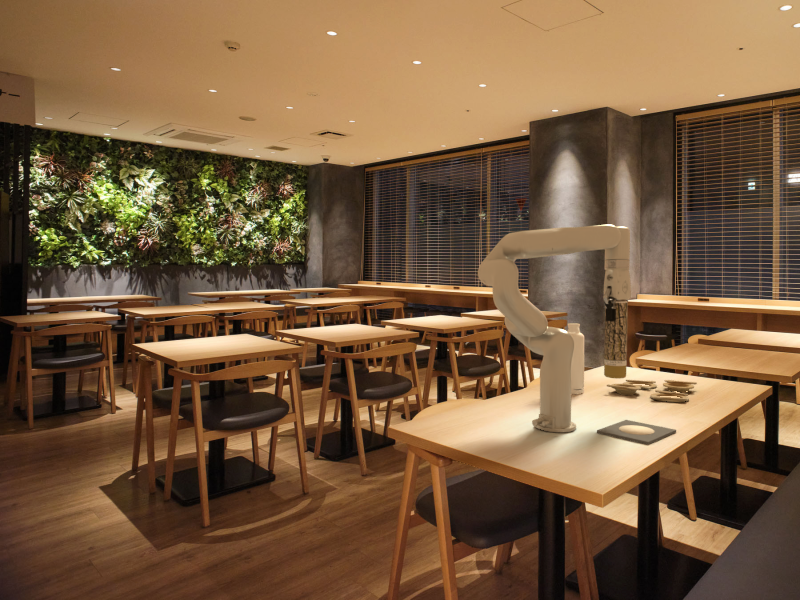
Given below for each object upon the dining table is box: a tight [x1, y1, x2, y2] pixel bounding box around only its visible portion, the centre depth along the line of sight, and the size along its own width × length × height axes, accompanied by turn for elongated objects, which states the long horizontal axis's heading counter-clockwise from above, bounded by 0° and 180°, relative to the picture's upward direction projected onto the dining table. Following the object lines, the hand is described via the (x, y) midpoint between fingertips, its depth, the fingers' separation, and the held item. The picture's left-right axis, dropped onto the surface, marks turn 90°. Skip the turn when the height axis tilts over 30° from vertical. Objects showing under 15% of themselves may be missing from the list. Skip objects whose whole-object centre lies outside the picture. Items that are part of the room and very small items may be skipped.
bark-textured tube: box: [603, 300, 629, 379], centre depth 183 cm, size 7×7×25 cm
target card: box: [596, 419, 677, 445], centre depth 172 cm, size 18×16×1 cm
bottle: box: [567, 322, 585, 395], centre depth 229 cm, size 8×8×28 cm
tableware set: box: [606, 379, 698, 403], centre depth 228 cm, size 35×29×4 cm
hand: (616, 319), depth 183 cm, fingers closed on bark-textured tube, 6 cm apart
